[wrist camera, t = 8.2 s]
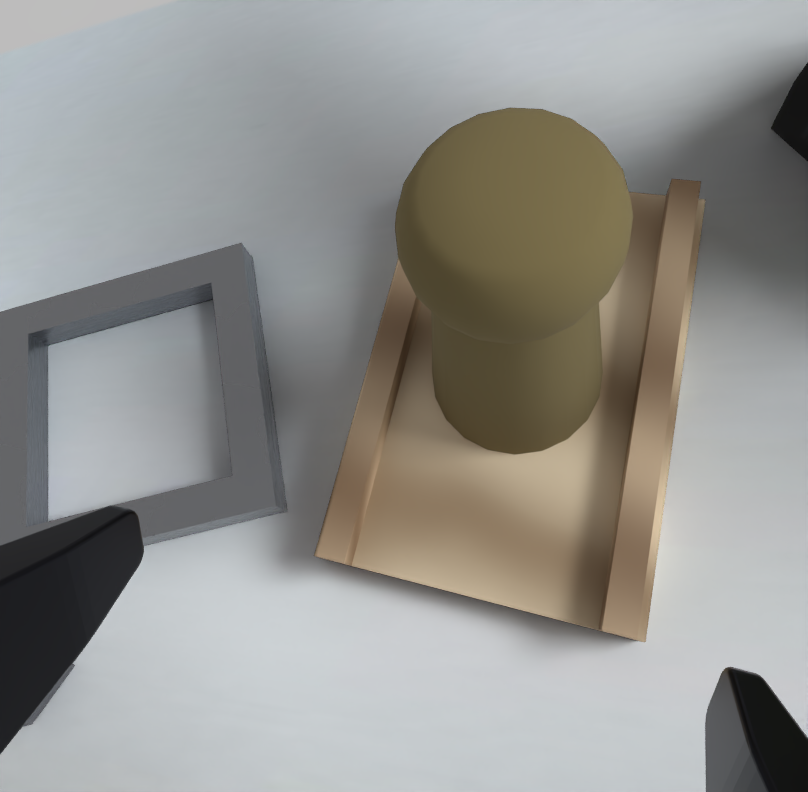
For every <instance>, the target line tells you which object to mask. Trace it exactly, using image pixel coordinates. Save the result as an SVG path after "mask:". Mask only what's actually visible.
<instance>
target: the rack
mask: <svg viewBox="0 0 808 792" xmlns="http://www.w3.org/2000/svg"><path fill="white" fill-rule="evenodd" d="M700 185H701V181H690V180H680V179H672V180H671V183H670V186H669V189H668V191H667V194H666V196H665V195H655V194H645V193H635V192H629V196H630V200H631V205H632V211H633V221H632V228H631V236H630V244H629V250H628V253H627V256H626V259H625V262H624V264H623V266H622V268H621V270H620V272H619V274H618V276H617V277H616V279H615V281H614V283H613V285H612V287H611V289H610V290H609V292H608V294H607V295H606V296H605V297H604V298H603V299H602V300H601V301H600V302H599V313H600V330H601V348H602V366H603V375H602V382H601V389H600V397H599V399H598V401H597V403H596V405H595V407H594V409H593V411H592V413H591V414H590V416H589V418H588V420H587V421H586V422H585V423H584V424H583V425H582V426H581V427H580V428H579V429H578V430H577V431H576V432H575V433H574V434H573V435H572V436H570V437H569V438H568V439H567V440H565V441H563V442H560V443H558V444H556V445H554V446H552V447H550V448H548V449H546V450H543V451H538V452H531V453H523V454H516V455H514V454H509V453H503V452H497V451H491V450H487V449H485V448H483V447H481V446H479V445H477V444H475V443H473V442H471V441H469V440H468V439H466V438H464V437H463V436H462V435H461V434H460V433H459V432H458V431H457V430H456V429H455V428H454V427H453V426H452V425H451V424H450V423H449V422H448V421H447V420H446V418H445V416H444V414H443V412H442V410H441V408H440V406H439V404H438V402H437V400H436V398H435V392H434V383H433V375H432V325H431V311H430V310H429V309H428V308H427V307H426V306H425V305H424V304H423V303H422V302H421V301H420V300H419V299H418V298H417V297H416V295H415V293H414V291H413V289H412V287H411V285H410V283H409V281H408V279H407V277H406V275H405V273H404V271H403V269H402V266H401V264H400V261H399V258H398V261H397V265H396V268H395V272H394V275H393V279H392V282H391V286H390V290H389V293H388V297H387V300H386V304H385V307H384V311H383V314H382V318H381V321H380V325H379V328H378V332H377V335H376V339H375V342H374V346H373V349H372V353H371V356H370V360H369V364H368V367H367V371H366V374H365V378H364V381H363V385H362V388H361V392H360V395H359V399H358V402H357V406H356V409H355V413H354V416H353V420H352V423H351V427H350V430H349V434H348V437H347V441H346V445H345V448H344V452H343V455H342V459H341V462H340V466H339V469H338V473H337V476H336V480H335V483H334V487H333V490H332V494H331V497H330V501H329V504H328V508H327V511H326V515H325V518H324V522H323V526H322V529H321V533H320V536H319V540H318V543H317V547H316V550H315V554H314V556H316V557H319V558H322V559H326V560H330V561H334V562H337V563H341V564H345V565H349V566H353V567H357V568H360V569H364V570H368V571H372V572H376V573H380V574H383V575H387V576H391V577H395V578H399V579H403V580H407V581H410V582H414V583H418V584H422V585H426V586H430V587H433V588H437V589H441V590H445V591H449V592H453V593H456V594H460V595H464V596H468V597H472V598H476V599H479V600H483V601H487V602H491V603H495V604H499V605H502V606H506V607H510V608H514V609H518V610H522V611H526V612H529V613H533V614H537V615H541V616H545V617H549V618H552V619H556V620H560V621H564V622H568V623H572V624H575V625H579V626H583V627H587V628H591V629H595V630H598V631H602V632H606V633H610V634H614V635H618V636H622V637H625V638H629V639H633V640H637V641H641V642H645V641H646V634H647V627H648V619H649V612H650V605H651V597H652V590H653V583H654V575H655V568H656V560H657V553H658V546H659V538H660V531H661V524H662V516H663V509H664V502H665V494H666V487H667V479H668V472H669V465H670V457H671V450H672V443H673V435H674V428H675V420H676V413H677V406H678V398H679V391H680V384H681V376H682V369H683V362H684V354H685V347H686V339H687V332H688V325H689V317H690V310H691V303H692V295H693V288H694V281H695V273H696V266H697V258H698V251H699V244H700V236H701V229H702V222H703V214H704V207H705V200H706V199H699V192H700Z"/></svg>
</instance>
